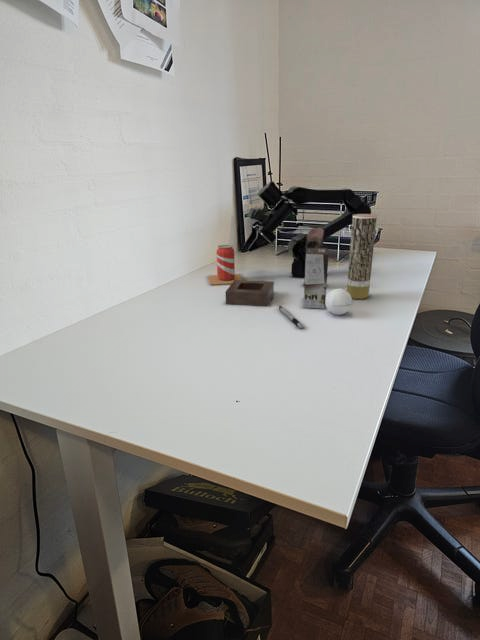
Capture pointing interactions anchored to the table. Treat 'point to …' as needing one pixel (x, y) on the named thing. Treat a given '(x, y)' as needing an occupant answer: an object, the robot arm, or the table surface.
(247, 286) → the stand
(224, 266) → the beverage can
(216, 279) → the cork mat
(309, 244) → the statue
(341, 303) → the seamed sphere
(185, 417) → the table surface
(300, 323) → the pen
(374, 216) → the bark patterned cylinder
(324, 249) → the coffee box
